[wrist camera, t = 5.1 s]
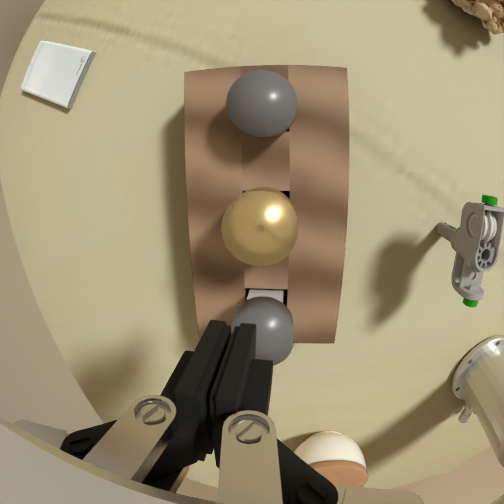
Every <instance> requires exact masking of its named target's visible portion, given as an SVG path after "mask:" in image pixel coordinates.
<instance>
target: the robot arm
mask: <svg viewBox="0 0 504 504" xmlns="http://www.w3.org/2000/svg"><path fill="white" fill-rule="evenodd" d="M255 358H256V324H249V323H241V324H240V326H235V327H234V330H233V333H232V329H231V326H230V325H227V324H226V321H218V320H210V322H209V324H208V326H207V328H206V329H205V331H204V333H203V335H202V337H201V339H200V341H199V343H198V345H197V347H196V349H195V351H194V352H193V351H185V352H184V353H183V355H182V357H181V359H180V360H179V362H178V364H177V366H176V368H175V370H174V371H173V373H172V375H171V377H170V379H169V380H168V382H167V384H166V386H165V388H164V389H163V391H162V393H161V395H148V396H143V397H141V398H139V399H137V400H136V401H135V402H133V403H132V404H131V406H130V407H129V408H128V409H127V410H126V411H125V412H124V413H123V415H122V416H121V417H120V418H119V419H118V420H115V421H112V422H108V423H105V424H102V425H98V426H94V427H91V428H87V429H83V430H79V431H76V432H73V433H71V434H68V432H67V431H66V430H61V429H57V428H53V427H49V426H45V425H41V424H37V423H33V422H30V421H25V420H20V421H16V422H15V423H13V424H12V423H10V422H8V421H6V420H4V419H1V418H0V504H424V503H423V500H422V499H421V497H420V496H419V495H418V494H416V493H414V492H411V491H401V490H385V489H374V488H364V487H356V486H347V488H343V487H337V486H334V485H333V484H332V483H331V482H330V481H329V480H328V479H326V478H325V477H324V476H322V475H321V474H320V473H318V472H317V471H316V470H315V469H313V468H312V467H311V466H310V465H308V464H307V463H306V462H305V461H303V460H302V459H301V458H300V457H298V456H297V455H296V454H295V453H294V452H292V451H291V450H290V449H289V448H288V447H286V446H285V445H284V444H283V443H282V442H281V441H279V440H278V439H277V437H276V428H275V425H274V422H273V421H272V420H271V418H270V417H268V409H269V401H270V394H271V385H272V374H273V360H261V359H255ZM452 390H453V392H454V394H455V396H456V397H457V398H459V399H461V400H464V401H465V404H464V410H463V411H462V412H461V414H460V416H459V418H458V420H459V421H460V422H461V423H466V422H467V420H468V419H469V417H470V415H471V413H472V411H473V413H474V414H476V415H477V417H478V419H479V421H480V423H481V425H482V427H483V429H484V431H485V433H486V435H487V437H488V439H489V441H490V443H491V446H492V447H493V450H494V452H495V454H496V456H497V459H498V461H499V463H500V464H501V465H502V466H503V467H504V336H494V337H491V338H489V339H487V340H485V341H483V342H481V343H480V344H478V345H477V346H476V347H475V348H474V349H472V350H471V351H470V352H469V353H468V354H467V355H466V356H465V358H464V359H463V360H462V361H461V363H460V364H459V366H458V367H457V369H456V371H455V373H454V376H453V379H452ZM213 449H214V452H215V459H216V466H217V467H218V468H219V469H220V470H219V484H218V500H217V502H213V501H208V500H203V499H198V498H193V497H189V496H185V495H180V494H176V491H177V490H178V488H179V486H180V485H181V483H182V481H183V480H184V478H185V476H186V475H187V473H188V470H189V465H191V464H194V463H196V462H197V461H198V460H200V461H204V460H205V457H206V454H212V452H213ZM491 504H504V495H502V496H501V497H500V498H498V499H497V500H495V501H494V502H492V503H491Z"/></svg>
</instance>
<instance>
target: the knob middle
mask: <svg viewBox="0 0 504 504" xmlns="http://www.w3.org/2000/svg"><path fill="white" fill-rule="evenodd" d="M221 231H222V237H223V240H224V243H225V245H226V247H227V248H228V250H229V251H230V252H231V254H232V255H233V256H235V257H236V258H237V259H238V260H240V261H242V262H244V263H246V264H249V265H253V266H269V265H273V264H275V263H278V262H280V261H281V260H283V259H284V258H285V257H287V256H288V254H289V253H290V252H291V251H292V249H293V248H294V246H295V244H296V241H297V237H298V220H297V213H296V210H295V207H294V205H293V203H292V202H291V200H290V199H289V198H288V197H287V196H286V195H285V192H280V191H278V190H276V189H274V188H270V187H256V188H252V189H249V190H247V191H246V192H244V193H243V194H241V195H240V196H239V197H238V198H236V199H235V200H234V201H233V202H232V203H231V204H230V205H229V206H228V208H227V209H226V211H225V213H224V216H223V219H222V224H221Z"/></svg>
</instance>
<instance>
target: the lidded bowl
mask: <svg viewBox="0 0 504 504" xmlns="http://www.w3.org/2000/svg"><path fill="white" fill-rule="evenodd" d="M294 453H295V454H296V455H297V456H298V457H300V458H301V459H302V460H303V461H305V462H306V463H307V464H308V465H310V466H311V467H312V468H313V469H315V470H316V471H317V472H318V473H320V474H321V475H322V476H324V477H325V478H326V479H328V480H329V481H330V482H331V483H332V484H333V485H334V486H337V487H343V488H347V486H356V487H362V486H363V485H364V484H365V483H366V482H367V480H368V472H367V469H366V464H365V459H364V456H363V454H362V451H361V449H360V447H359V446H358V445H357V444H356V442H354V441H353V440H352V439H351V438H349V437H347V436H345V435H344V434H342V433H340V432H336V431H323V432H318V433H315V434H313V435H311V436H310V437H308V438H307V439H306V440H305V441H304V442H303V443H301V444H300V445H299V446H298V448H297V449H296V450H295V452H294Z"/></svg>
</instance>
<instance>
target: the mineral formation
mask: <svg viewBox="0 0 504 504" xmlns="http://www.w3.org/2000/svg"><path fill="white" fill-rule="evenodd" d="M452 2H454V4H455V5H456V6H459V7H461V8H462V9H463V11H464V12H467V13H468V14H470V15H473V16H477V17H478V18H479V19H481V21H482V25H483V27H484V28H486V29H489V30H490V31H491V32H492V33H493V34H494V35H495V34H499V33H504V0H452Z"/></svg>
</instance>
